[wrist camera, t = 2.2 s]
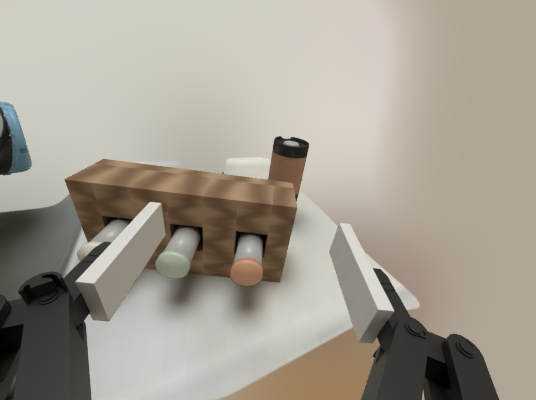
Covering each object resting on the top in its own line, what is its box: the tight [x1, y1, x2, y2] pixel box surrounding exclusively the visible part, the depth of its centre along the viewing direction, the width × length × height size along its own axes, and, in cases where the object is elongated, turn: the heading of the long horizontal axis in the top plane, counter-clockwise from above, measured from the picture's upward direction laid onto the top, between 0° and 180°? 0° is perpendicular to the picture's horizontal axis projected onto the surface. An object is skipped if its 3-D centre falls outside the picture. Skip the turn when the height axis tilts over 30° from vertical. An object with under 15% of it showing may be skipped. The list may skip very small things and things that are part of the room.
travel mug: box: [268, 136, 309, 201], centre depth 52 cm, size 8×8×20 cm
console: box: [65, 159, 297, 282], centre depth 38 cm, size 32×8×16 cm, turn 89°
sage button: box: [155, 225, 202, 279], centre depth 33 cm, size 4×7×4 cm, turn 179°
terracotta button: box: [230, 232, 263, 286], centre depth 33 cm, size 4×7×4 cm, turn 179°
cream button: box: [77, 217, 133, 262], centre depth 32 cm, size 4×7×4 cm, turn 179°
